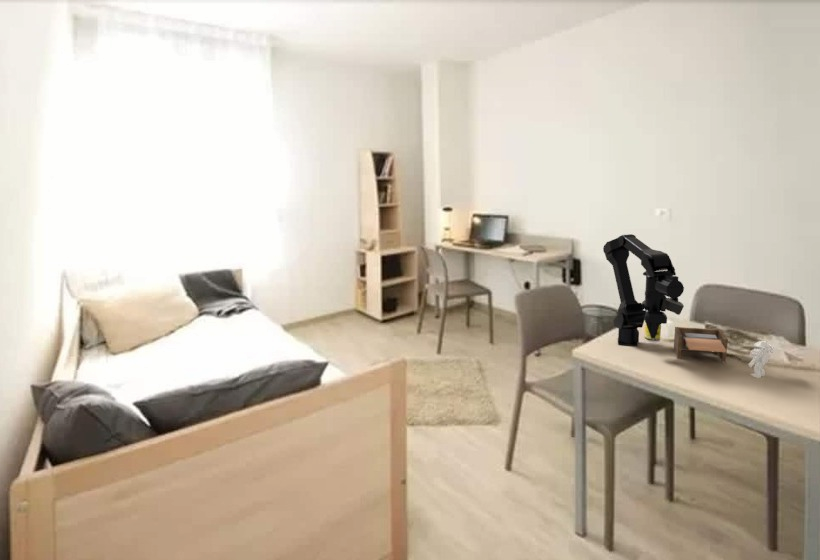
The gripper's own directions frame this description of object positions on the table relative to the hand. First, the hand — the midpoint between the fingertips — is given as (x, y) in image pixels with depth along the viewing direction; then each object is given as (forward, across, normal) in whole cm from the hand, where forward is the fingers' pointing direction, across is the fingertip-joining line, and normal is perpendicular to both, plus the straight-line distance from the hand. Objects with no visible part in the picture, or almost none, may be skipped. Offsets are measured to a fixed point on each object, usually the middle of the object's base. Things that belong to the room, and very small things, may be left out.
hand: (652, 335), depth 164 cm
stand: (+8, +6, -15) cm, 18 cm away
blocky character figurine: (+8, -8, -29) cm, 31 cm away
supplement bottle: (+2, 0, 0) cm, 2 cm away
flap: (+4, -1, -15) cm, 16 cm away
